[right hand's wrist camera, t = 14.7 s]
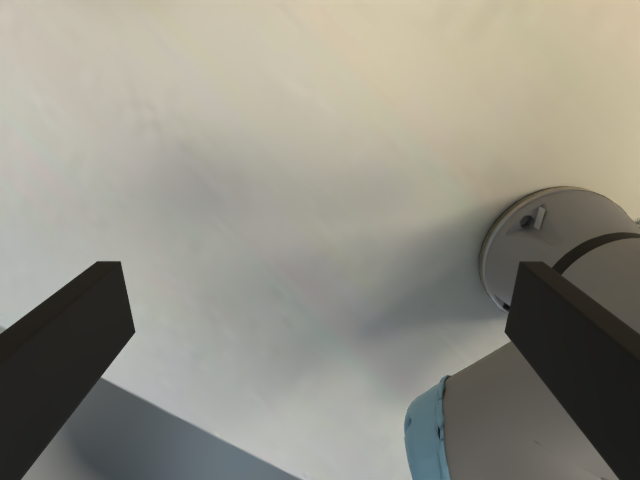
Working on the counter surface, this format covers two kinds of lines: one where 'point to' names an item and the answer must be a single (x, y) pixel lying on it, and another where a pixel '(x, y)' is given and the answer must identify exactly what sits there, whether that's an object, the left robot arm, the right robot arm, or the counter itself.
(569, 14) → the counter surface
